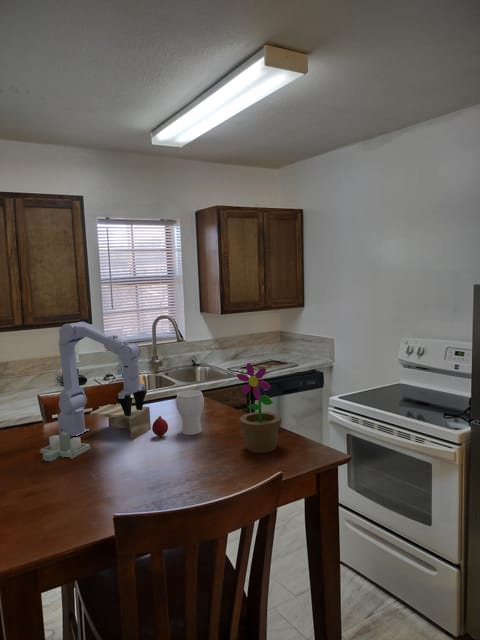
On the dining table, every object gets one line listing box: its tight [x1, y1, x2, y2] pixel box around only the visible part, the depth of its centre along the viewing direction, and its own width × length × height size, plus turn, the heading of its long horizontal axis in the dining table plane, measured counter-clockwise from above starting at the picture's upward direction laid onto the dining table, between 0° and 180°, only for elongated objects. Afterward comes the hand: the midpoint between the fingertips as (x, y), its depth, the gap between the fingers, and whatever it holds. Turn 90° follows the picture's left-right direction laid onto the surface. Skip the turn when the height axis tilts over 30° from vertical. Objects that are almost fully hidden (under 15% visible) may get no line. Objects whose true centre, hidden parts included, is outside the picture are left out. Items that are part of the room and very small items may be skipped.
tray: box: [39, 432, 91, 462], centre depth 158 cm, size 14×14×7 cm
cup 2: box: [175, 389, 205, 436], centre depth 174 cm, size 11×11×15 cm
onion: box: [151, 415, 169, 438], centre depth 170 cm, size 6×6×8 cm
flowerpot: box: [236, 362, 282, 454], centre depth 154 cm, size 14×14×30 cm
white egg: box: [70, 436, 82, 453], centre depth 158 cm, size 3×3×4 cm
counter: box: [89, 404, 152, 441], centre depth 178 cm, size 19×12×9 cm, turn 70°
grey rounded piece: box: [48, 434, 60, 450], centre depth 162 cm, size 3×3×4 cm
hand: (133, 412), depth 169 cm, fingers open, 7 cm apart
